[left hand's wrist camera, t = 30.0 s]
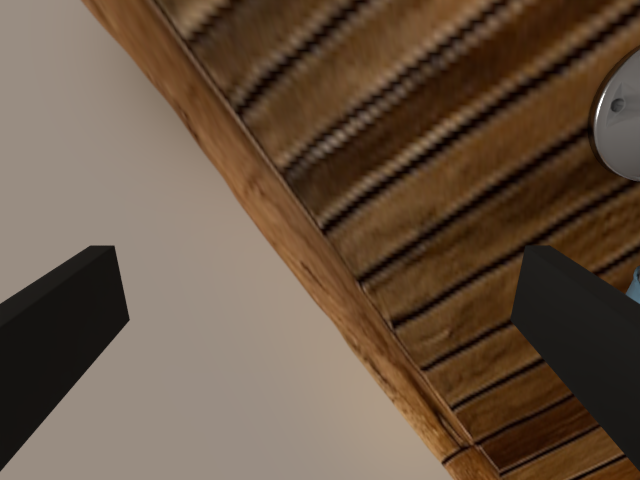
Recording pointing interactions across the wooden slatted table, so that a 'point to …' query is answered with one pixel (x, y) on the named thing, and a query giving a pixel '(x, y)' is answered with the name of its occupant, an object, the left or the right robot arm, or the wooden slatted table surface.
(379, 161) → the wooden slatted table surface
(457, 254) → the wooden slatted table surface
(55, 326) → the left robot arm
